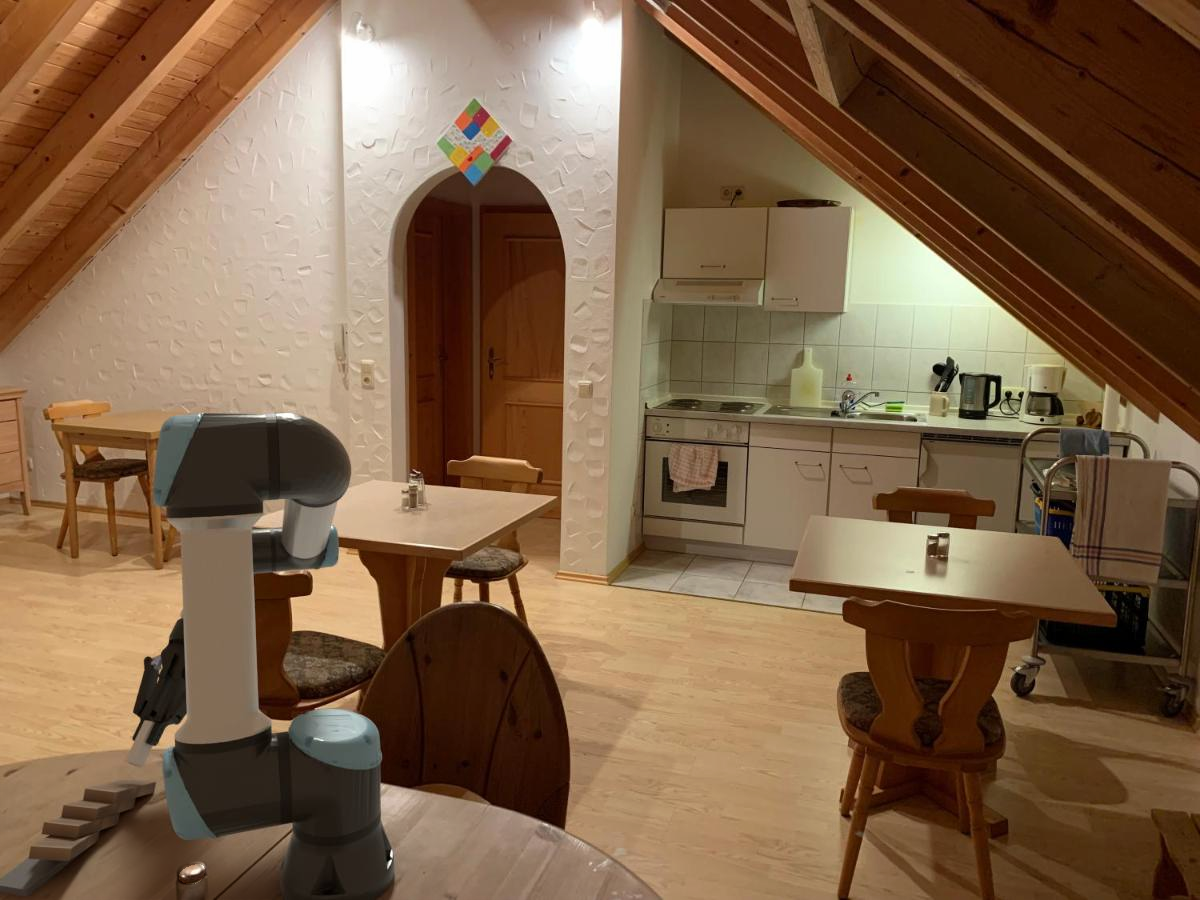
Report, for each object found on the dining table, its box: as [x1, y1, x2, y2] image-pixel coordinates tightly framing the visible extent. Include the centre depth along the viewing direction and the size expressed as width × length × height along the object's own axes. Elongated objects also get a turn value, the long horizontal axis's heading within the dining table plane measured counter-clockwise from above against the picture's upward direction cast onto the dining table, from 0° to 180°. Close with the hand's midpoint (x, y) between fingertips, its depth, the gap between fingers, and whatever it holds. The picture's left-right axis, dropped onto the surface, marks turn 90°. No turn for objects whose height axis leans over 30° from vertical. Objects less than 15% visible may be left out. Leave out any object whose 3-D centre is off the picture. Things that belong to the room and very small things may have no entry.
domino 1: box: [41, 812, 121, 838], centre depth 130 cm, size 2×5×10 cm
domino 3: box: [0, 852, 83, 898], centre depth 124 cm, size 2×5×10 cm
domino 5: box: [82, 778, 157, 804], centre depth 139 cm, size 2×5×10 cm
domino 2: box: [27, 830, 101, 861], centre depth 125 cm, size 2×5×10 cm
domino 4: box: [60, 798, 136, 820], centre depth 135 cm, size 2×5×10 cm
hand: (133, 764), depth 141 cm, fingers closed
